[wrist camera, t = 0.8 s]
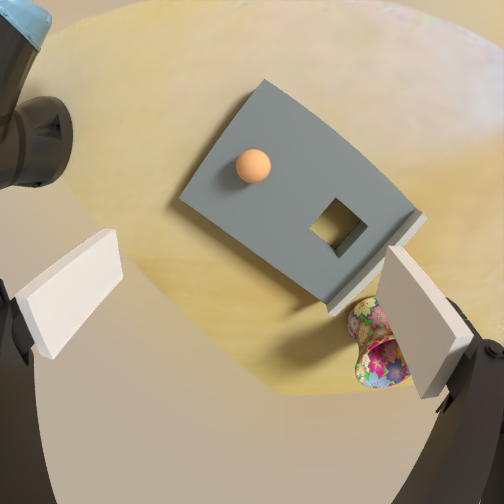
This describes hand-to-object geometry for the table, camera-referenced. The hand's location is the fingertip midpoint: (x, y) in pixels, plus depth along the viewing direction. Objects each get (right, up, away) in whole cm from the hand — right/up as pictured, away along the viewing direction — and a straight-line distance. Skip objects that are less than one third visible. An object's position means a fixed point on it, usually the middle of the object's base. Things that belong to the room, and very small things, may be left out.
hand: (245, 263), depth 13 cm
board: (+7, +7, +21) cm, 23 cm away
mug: (+19, -8, +27) cm, 34 cm away
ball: (+1, +10, +17) cm, 20 cm away
